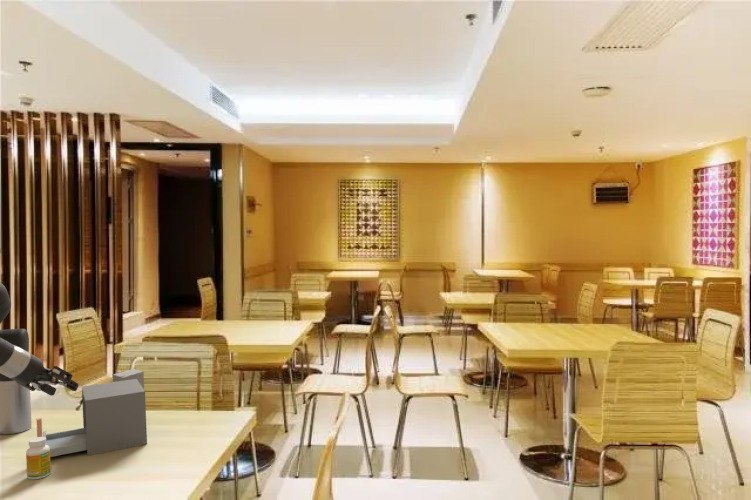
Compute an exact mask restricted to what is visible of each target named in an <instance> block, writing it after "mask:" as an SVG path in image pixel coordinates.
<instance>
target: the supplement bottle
mask: <svg viewBox="0 0 751 500" xmlns="http://www.w3.org/2000/svg"><path fill="white" fill-rule="evenodd" d="M45 444H46V437H43V436H42V437H33V438H30V439H29V440H28V449H26V452H25V457H26V458H25V459H26V478H27V479H28V480H40V479H43V478H46V477H48V476H49V475H51V473H52V470H51V457H50V448H49V446H48V445H45Z"/></svg>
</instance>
